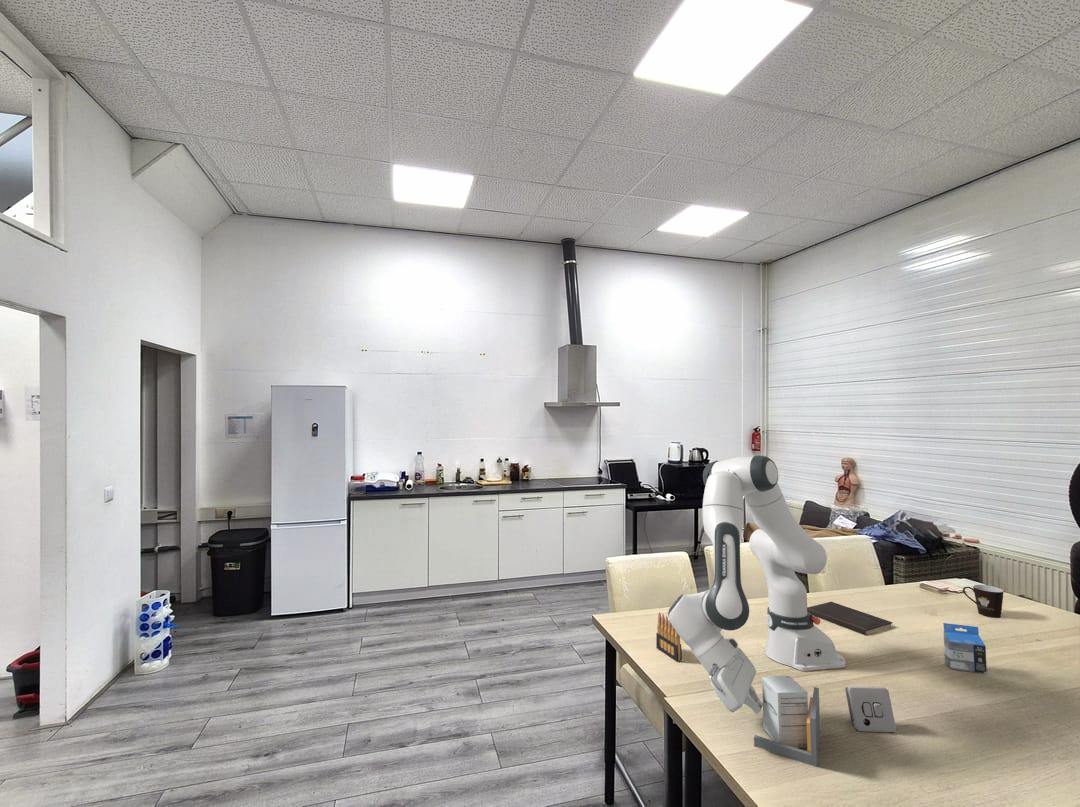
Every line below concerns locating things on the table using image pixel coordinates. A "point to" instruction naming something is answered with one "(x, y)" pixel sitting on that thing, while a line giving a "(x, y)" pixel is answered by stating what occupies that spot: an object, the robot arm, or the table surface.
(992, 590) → the coffee mug
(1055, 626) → the table surface
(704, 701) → the table surface
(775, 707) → the supplement box
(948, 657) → the ink cartridge box
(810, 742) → the orange flat slab
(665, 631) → the ammunition clip
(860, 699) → the electrical switch
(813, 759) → the holder
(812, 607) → the hardcover book
